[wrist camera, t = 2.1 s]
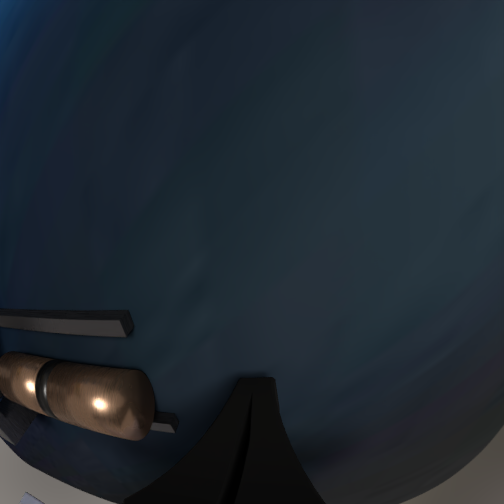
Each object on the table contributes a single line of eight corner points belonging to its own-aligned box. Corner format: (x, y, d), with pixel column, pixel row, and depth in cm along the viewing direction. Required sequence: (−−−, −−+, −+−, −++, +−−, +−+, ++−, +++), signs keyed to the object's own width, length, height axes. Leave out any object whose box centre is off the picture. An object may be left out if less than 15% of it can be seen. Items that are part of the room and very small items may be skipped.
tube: (130, 355, 11) (107, 421, 9) (160, 393, 13) (145, 450, 11) (10, 340, 13) (-12, 380, 10) (40, 372, 15) (22, 411, 12)
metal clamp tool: (184, 431, 14) (161, 503, 9) (-2, 384, 17) (-28, 415, 12) (120, 288, 11) (46, 368, 6) (-49, 294, 14) (-85, 322, 9)
